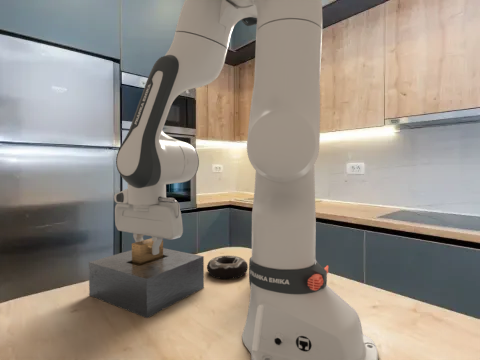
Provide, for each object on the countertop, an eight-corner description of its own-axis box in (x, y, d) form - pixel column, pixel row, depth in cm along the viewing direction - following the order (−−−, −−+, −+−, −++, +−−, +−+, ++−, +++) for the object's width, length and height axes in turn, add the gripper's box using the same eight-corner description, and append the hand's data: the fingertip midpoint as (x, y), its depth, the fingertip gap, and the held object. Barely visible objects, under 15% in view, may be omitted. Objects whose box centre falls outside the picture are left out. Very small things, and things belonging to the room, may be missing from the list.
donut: (236, 284, 78) (236, 269, 78) (198, 276, 84) (198, 262, 83) (254, 270, 89) (254, 257, 89) (219, 264, 94) (219, 252, 94)
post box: (203, 287, 76) (203, 256, 75) (147, 318, 60) (146, 278, 60) (149, 272, 86) (148, 245, 86) (89, 295, 71) (88, 262, 71)
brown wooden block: (163, 258, 75) (163, 238, 75) (140, 266, 69) (140, 245, 69) (154, 256, 77) (154, 237, 76) (132, 264, 71) (131, 243, 70)
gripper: (188, 197, 69) (189, 256, 70) (130, 193, 80) (131, 244, 81) (168, 199, 64) (169, 263, 65) (109, 195, 75) (110, 249, 75)
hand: (148, 252), depth 73 cm, fingers closed on brown wooden block, 3 cm apart
